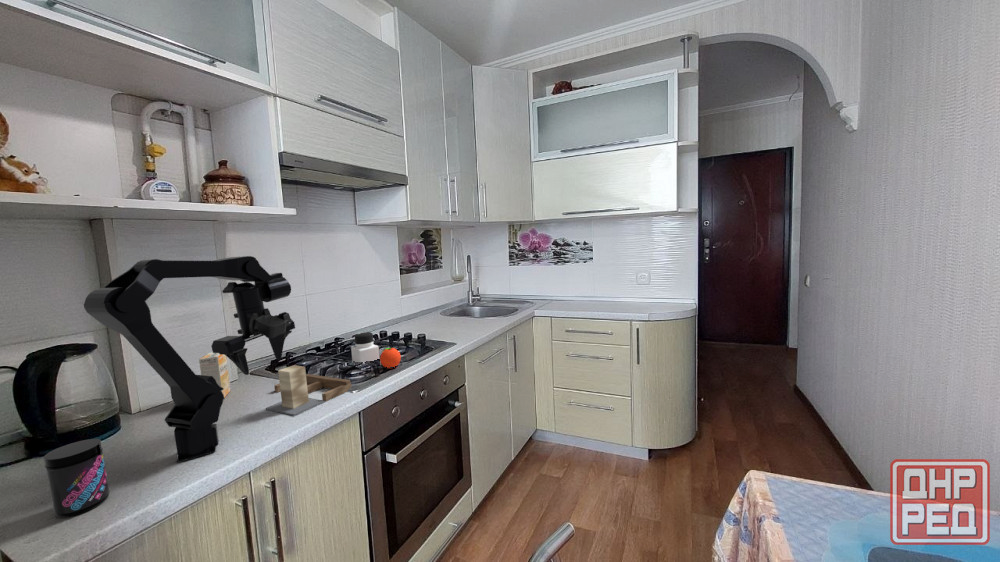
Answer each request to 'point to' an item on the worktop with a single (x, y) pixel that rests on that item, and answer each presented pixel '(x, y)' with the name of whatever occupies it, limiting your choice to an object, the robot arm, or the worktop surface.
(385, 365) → the clementine
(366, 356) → the medicine bottle
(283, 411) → the rubber mat
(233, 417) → the worktop surface
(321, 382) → the lane rack
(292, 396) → the beech block
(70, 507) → the supplement container
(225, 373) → the supplement box
